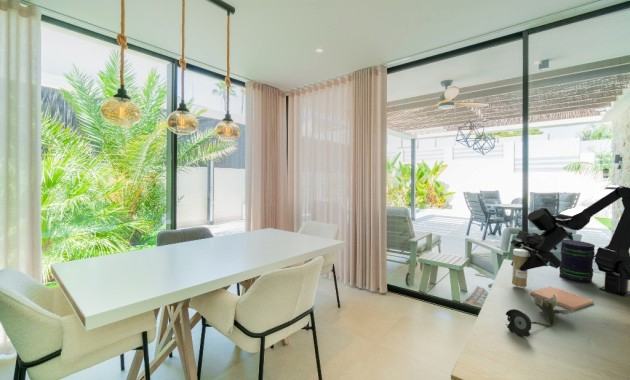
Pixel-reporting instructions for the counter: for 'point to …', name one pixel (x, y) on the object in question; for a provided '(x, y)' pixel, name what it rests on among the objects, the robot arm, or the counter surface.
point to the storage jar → (577, 261)
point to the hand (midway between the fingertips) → (516, 267)
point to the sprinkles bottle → (518, 261)
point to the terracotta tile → (562, 297)
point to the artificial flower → (523, 323)
